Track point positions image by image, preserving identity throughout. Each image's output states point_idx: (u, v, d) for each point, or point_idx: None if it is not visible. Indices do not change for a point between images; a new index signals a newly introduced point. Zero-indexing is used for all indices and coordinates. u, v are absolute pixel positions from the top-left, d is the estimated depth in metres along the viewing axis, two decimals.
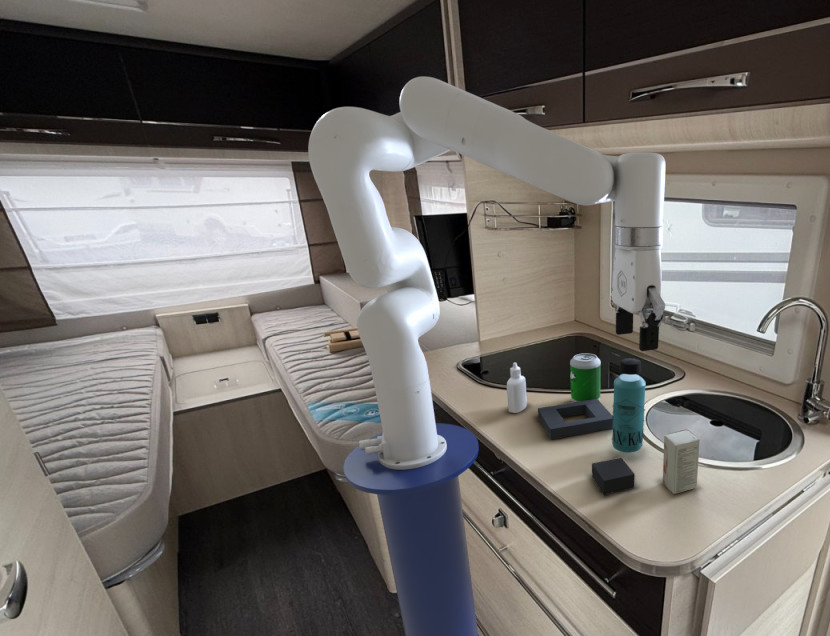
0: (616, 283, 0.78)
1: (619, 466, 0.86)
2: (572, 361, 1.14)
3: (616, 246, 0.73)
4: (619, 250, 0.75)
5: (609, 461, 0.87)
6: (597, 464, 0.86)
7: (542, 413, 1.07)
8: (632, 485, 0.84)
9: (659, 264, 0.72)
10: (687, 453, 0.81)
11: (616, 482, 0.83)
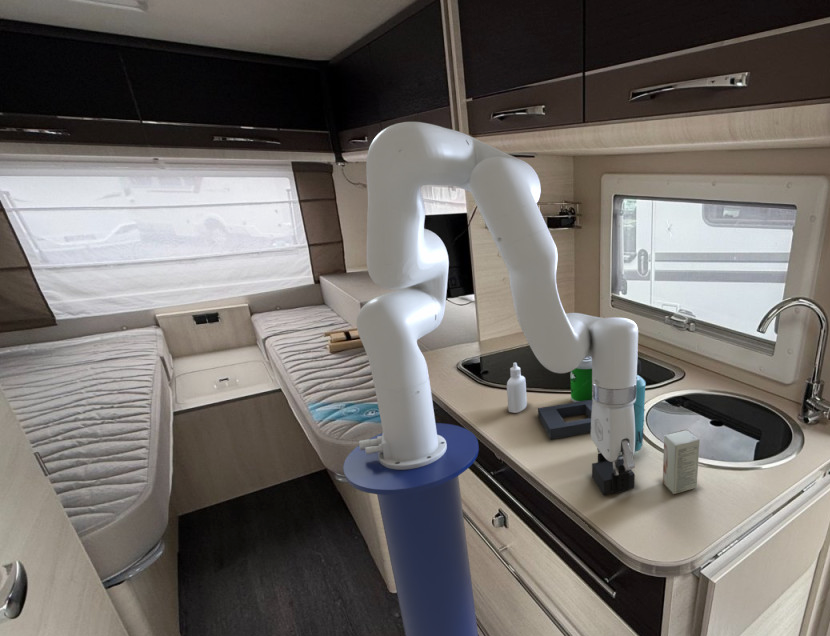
0: (594, 426, 0.83)
1: None
2: None
3: (593, 399, 0.79)
4: None
5: (609, 461, 0.87)
6: (597, 464, 0.86)
7: (542, 413, 1.07)
8: (632, 485, 0.84)
9: (632, 419, 0.78)
10: (687, 453, 0.81)
11: None
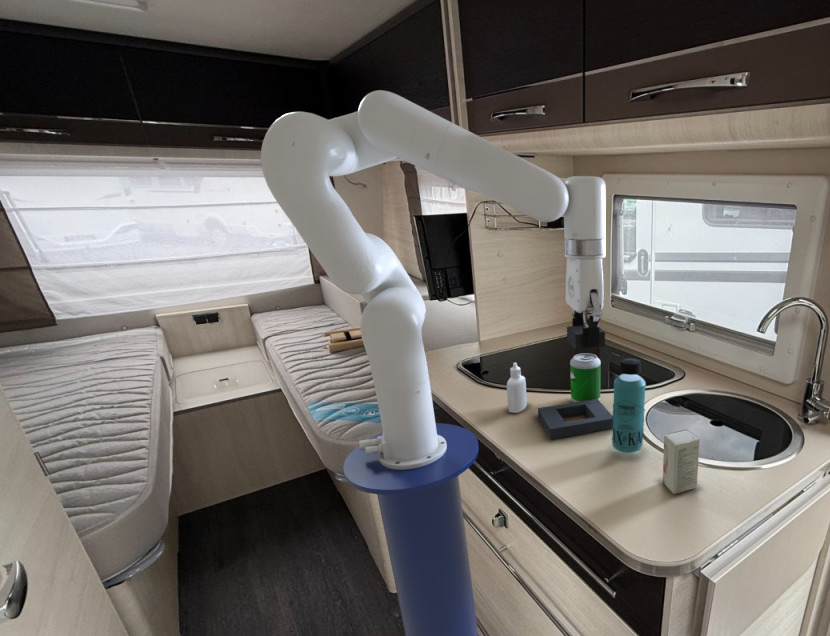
0: (567, 286, 0.90)
1: None
2: (572, 361, 1.14)
3: (565, 255, 0.86)
4: (569, 258, 0.87)
5: (583, 325, 0.94)
6: (571, 327, 0.93)
7: (542, 413, 1.07)
8: (603, 343, 0.91)
9: (600, 271, 0.84)
10: (687, 453, 0.81)
11: None
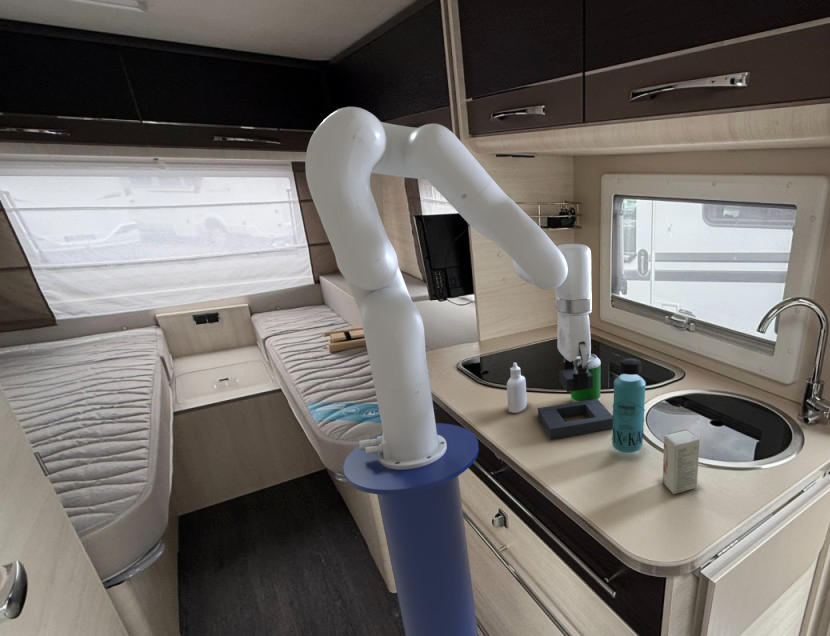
0: (559, 336, 1.02)
1: None
2: None
3: (556, 311, 0.98)
4: None
5: (573, 369, 1.06)
6: (563, 370, 1.05)
7: (542, 413, 1.07)
8: (591, 385, 1.03)
9: (587, 326, 0.96)
10: (687, 453, 0.81)
11: None
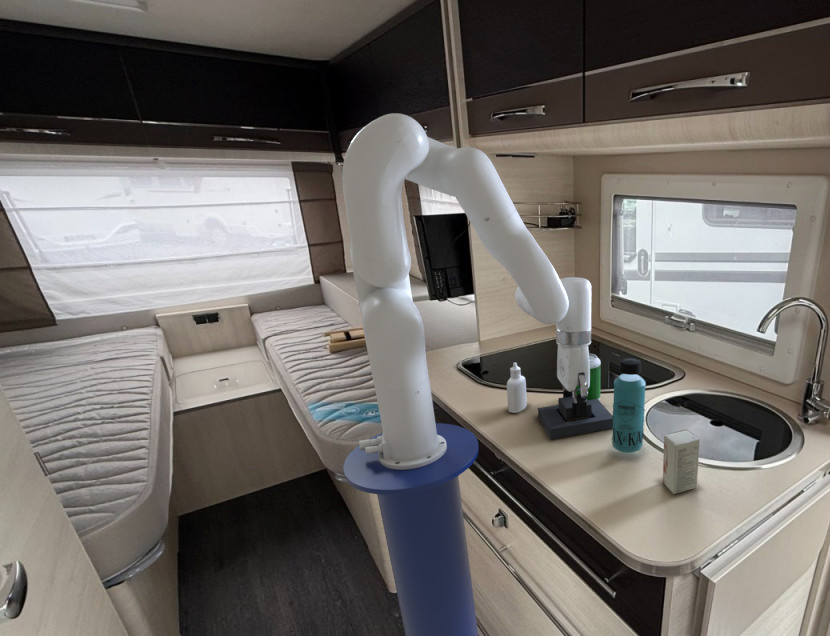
0: (559, 366, 1.04)
1: None
2: None
3: (557, 342, 1.00)
4: None
5: (572, 397, 1.09)
6: (562, 398, 1.08)
7: (542, 413, 1.07)
8: (590, 414, 1.05)
9: (587, 357, 0.99)
10: (687, 453, 0.81)
11: None
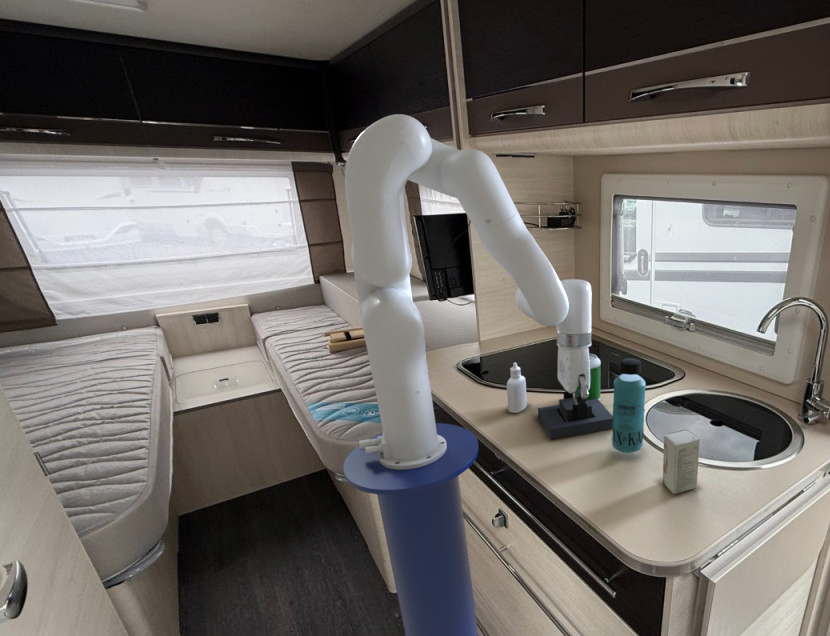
0: (559, 367, 1.05)
1: None
2: None
3: (557, 344, 1.00)
4: None
5: None
6: (563, 400, 1.08)
7: (542, 413, 1.07)
8: (590, 415, 1.06)
9: (587, 359, 0.99)
10: (687, 453, 0.81)
11: None
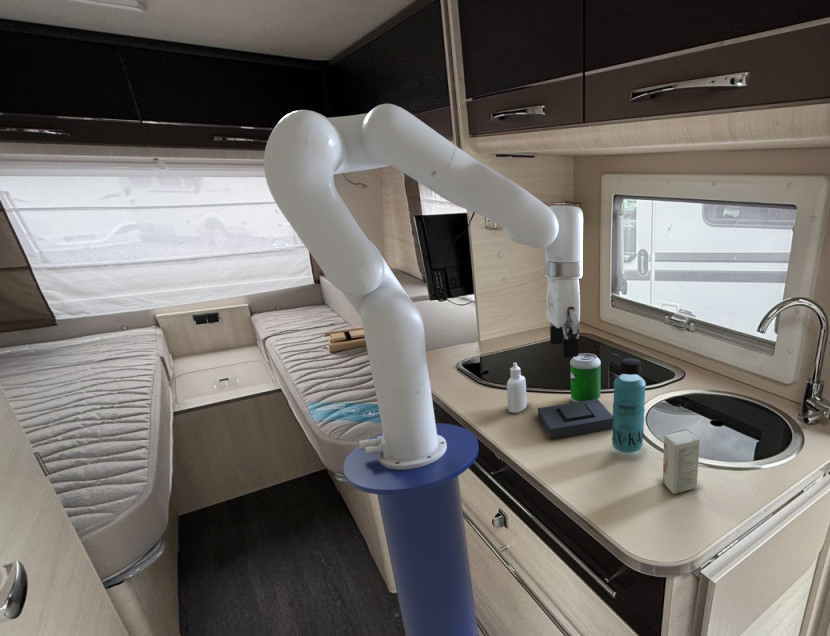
0: (548, 303, 0.99)
1: (581, 409, 1.08)
2: (572, 361, 1.14)
3: (545, 275, 0.94)
4: (549, 278, 0.96)
5: (573, 406, 1.09)
6: (563, 408, 1.09)
7: (542, 413, 1.07)
8: None
9: (577, 291, 0.93)
10: (687, 453, 0.81)
11: None
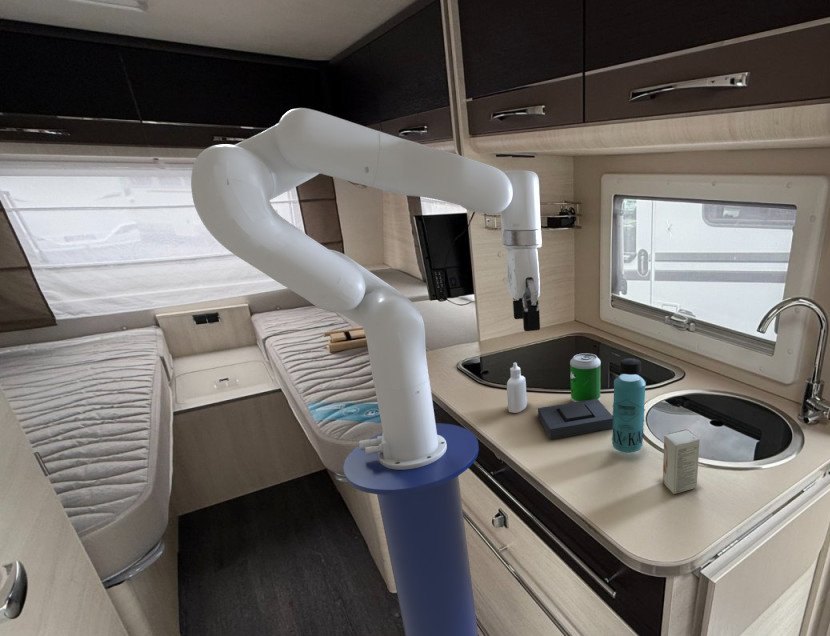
0: (508, 276, 0.95)
1: (581, 409, 1.08)
2: (572, 361, 1.14)
3: None
4: (507, 248, 0.92)
5: (573, 406, 1.09)
6: (563, 408, 1.09)
7: (542, 413, 1.07)
8: None
9: (535, 260, 0.89)
10: (687, 453, 0.81)
11: None
